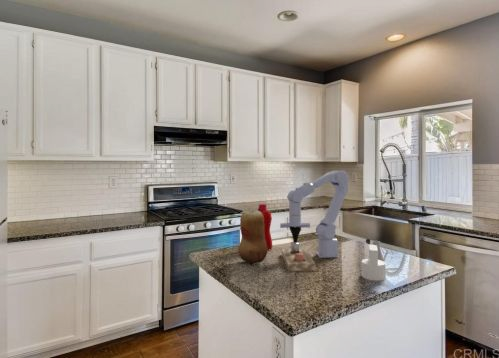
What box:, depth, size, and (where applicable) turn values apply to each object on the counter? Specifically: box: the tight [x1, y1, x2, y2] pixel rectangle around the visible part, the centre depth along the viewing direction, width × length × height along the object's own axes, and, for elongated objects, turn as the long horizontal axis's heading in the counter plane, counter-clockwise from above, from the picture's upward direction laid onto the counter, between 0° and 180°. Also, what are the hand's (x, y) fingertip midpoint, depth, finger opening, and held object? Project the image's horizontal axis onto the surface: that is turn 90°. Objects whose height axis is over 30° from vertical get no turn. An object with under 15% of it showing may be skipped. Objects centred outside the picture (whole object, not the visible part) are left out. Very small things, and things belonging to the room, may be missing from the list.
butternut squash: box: [238, 209, 269, 265], centre depth 143 cm, size 14×13×25 cm
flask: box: [372, 240, 386, 263], centre depth 142 cm, size 7×7×10 cm
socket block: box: [281, 248, 316, 272], centre depth 144 cm, size 12×24×3 cm, turn 0°
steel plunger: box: [290, 241, 300, 253], centre depth 150 cm, size 4×4×4 cm
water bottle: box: [256, 203, 273, 251], centre depth 168 cm, size 9×11×25 cm
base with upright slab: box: [361, 244, 386, 282], centre depth 124 cm, size 9×9×12 cm
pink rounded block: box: [295, 253, 304, 261], centre depth 138 cm, size 4×4×4 cm
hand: (295, 242), depth 150 cm, fingers closed
